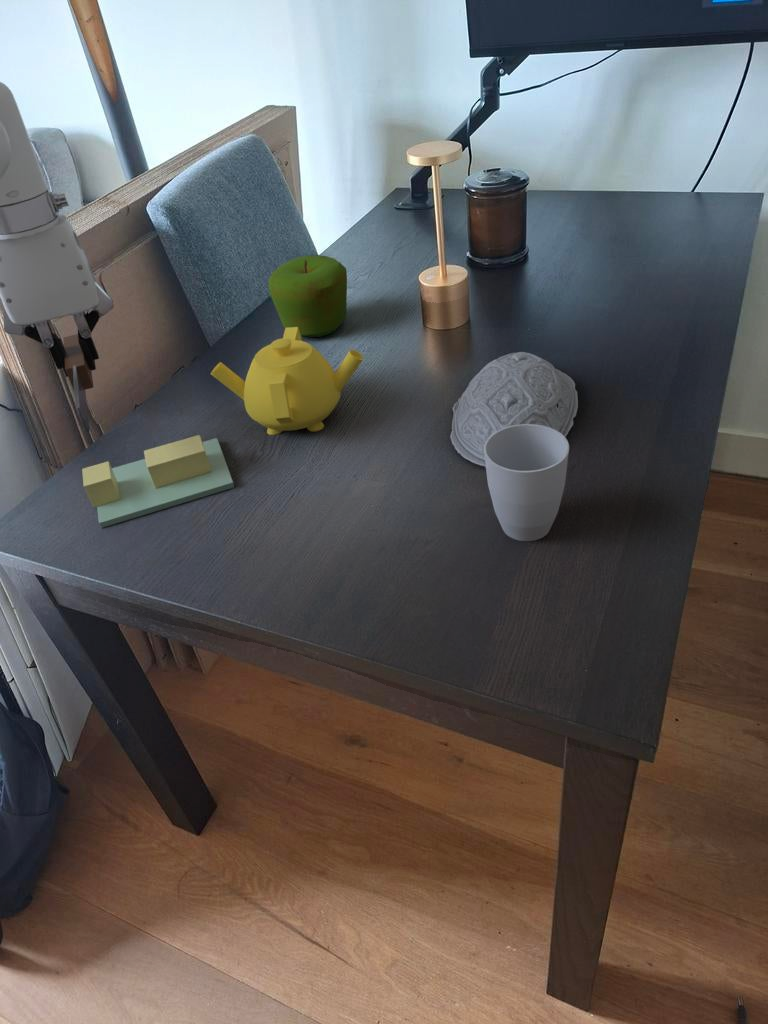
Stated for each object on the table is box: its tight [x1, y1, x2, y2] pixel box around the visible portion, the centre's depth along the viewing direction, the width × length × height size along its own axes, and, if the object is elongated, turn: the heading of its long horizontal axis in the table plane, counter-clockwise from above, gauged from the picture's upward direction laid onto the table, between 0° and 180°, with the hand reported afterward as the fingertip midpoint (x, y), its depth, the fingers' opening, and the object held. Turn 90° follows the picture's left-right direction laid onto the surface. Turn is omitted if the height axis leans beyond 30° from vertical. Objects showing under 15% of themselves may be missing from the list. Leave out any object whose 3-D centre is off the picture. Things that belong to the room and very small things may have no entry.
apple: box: [268, 254, 348, 338], centre depth 119 cm, size 12×12×11 cm
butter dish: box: [96, 437, 235, 529], centre depth 94 cm, size 16×11×1 cm
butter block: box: [143, 434, 211, 488], centre depth 93 cm, size 7×4×3 cm, turn 110°
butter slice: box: [81, 460, 120, 508], centre depth 91 cm, size 3×4×3 cm
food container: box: [449, 351, 579, 468], centre depth 95 cm, size 16×25×7 cm, turn 163°
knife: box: [63, 333, 94, 433], centre depth 87 cm, size 21×2×3 cm, turn 21°
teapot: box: [210, 327, 365, 436], centre depth 99 cm, size 20×18×11 cm
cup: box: [484, 424, 570, 542], centre depth 76 cm, size 8×8×10 cm
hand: (80, 367), depth 92 cm, fingers closed on knife, 2 cm apart
